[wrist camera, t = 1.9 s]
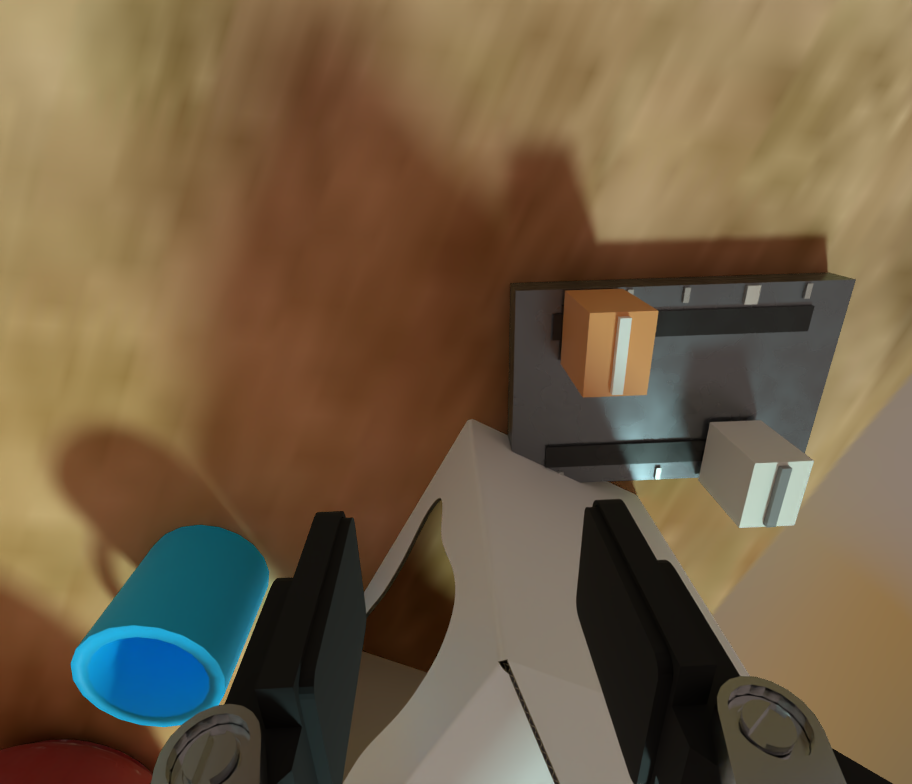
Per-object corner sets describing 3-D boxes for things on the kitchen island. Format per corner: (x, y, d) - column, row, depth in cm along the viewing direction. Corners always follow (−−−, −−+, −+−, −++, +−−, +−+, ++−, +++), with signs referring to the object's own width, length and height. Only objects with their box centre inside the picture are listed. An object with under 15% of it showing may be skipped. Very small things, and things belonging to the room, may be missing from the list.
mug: (181, 504, 33) (107, 602, 25) (291, 561, 35) (252, 666, 28) (106, 614, 36) (22, 728, 29) (210, 659, 39) (156, 776, 31)
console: (510, 283, 28) (516, 291, 26) (828, 272, 28) (858, 280, 26) (506, 468, 33) (511, 487, 31) (778, 456, 33) (801, 474, 31)
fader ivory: (709, 422, 29) (758, 466, 25) (760, 420, 29) (818, 463, 25) (698, 480, 31) (742, 531, 26) (746, 478, 31) (798, 528, 26)
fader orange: (565, 290, 26) (591, 315, 21) (622, 288, 26) (661, 312, 21) (560, 363, 27) (584, 400, 23) (614, 361, 27) (649, 397, 23)
